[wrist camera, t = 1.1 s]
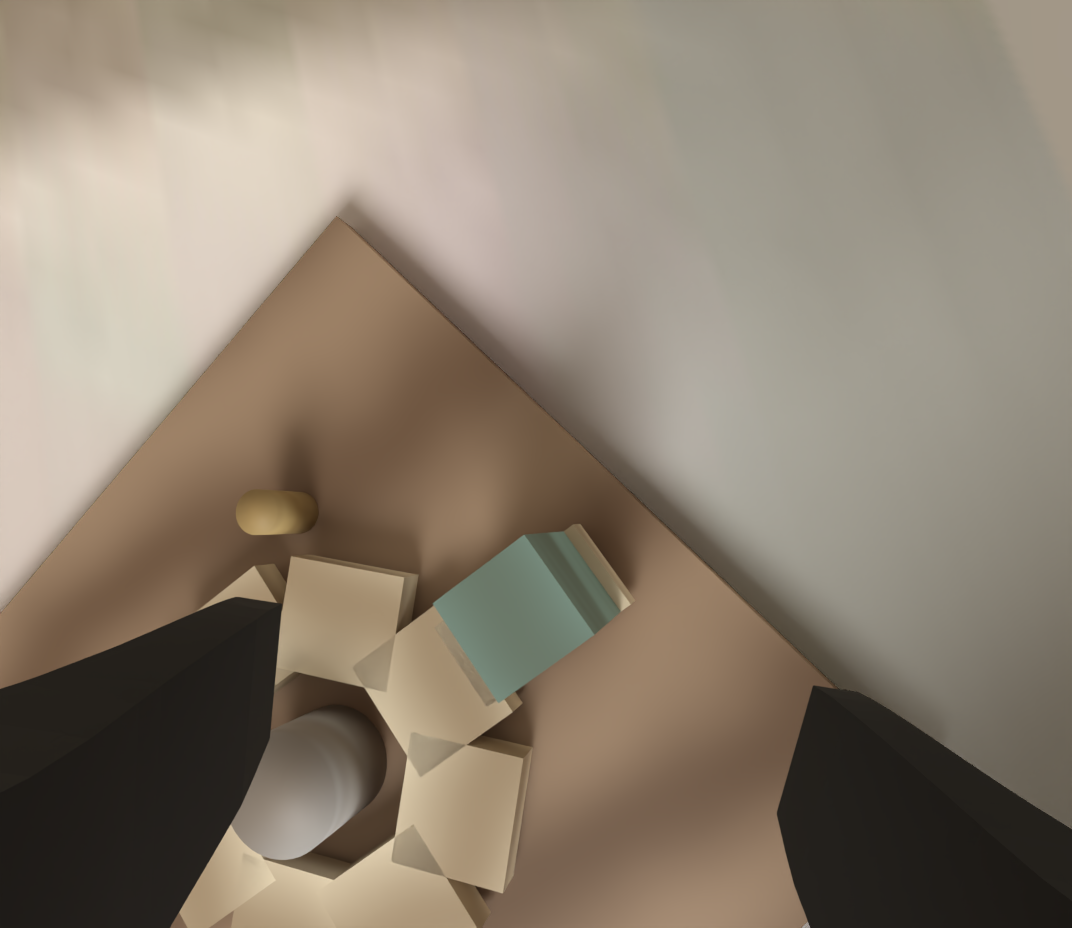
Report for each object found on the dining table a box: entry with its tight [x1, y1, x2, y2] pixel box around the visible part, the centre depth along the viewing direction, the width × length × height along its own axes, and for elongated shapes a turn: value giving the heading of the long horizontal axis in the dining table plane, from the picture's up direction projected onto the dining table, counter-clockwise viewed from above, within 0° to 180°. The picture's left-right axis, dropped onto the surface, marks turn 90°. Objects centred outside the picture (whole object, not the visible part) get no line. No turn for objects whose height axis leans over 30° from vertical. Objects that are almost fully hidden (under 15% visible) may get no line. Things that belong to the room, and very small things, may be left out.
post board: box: [0, 216, 838, 928], centre depth 21 cm, size 22×22×4 cm
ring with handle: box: [179, 524, 635, 928], centre depth 19 cm, size 15×11×5 cm
